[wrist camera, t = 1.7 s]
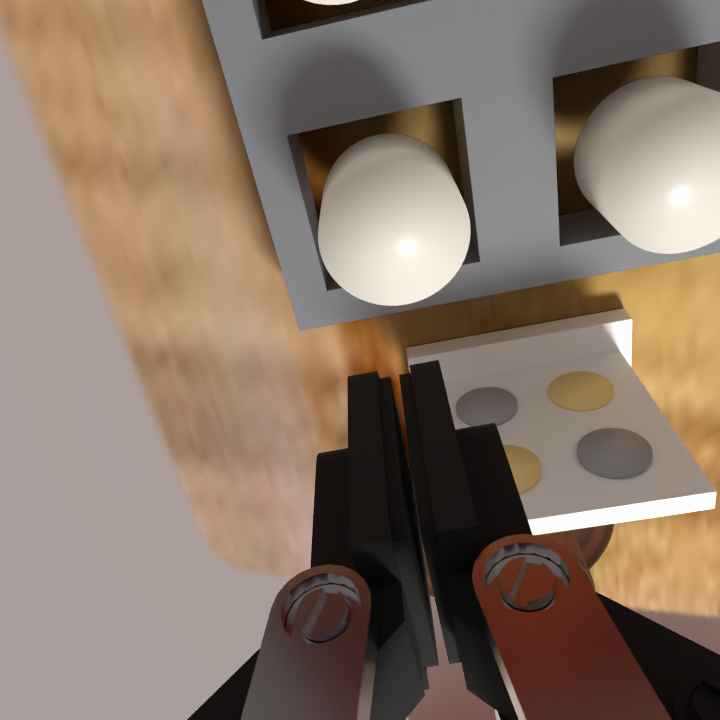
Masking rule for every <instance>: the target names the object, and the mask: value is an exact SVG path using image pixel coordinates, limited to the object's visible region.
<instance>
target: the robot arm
mask: <svg viewBox="0 0 720 720" xmlns="http://www.w3.org/2000/svg"><path fill="white" fill-rule="evenodd" d="M410 372H411V373H408V374H402V375H399V377H400V385H401V392H402V400H403V407H404V415H405V422H406V430H407V437H408V444H409V452H410V459H411V467H412V474H413V479H412V474H411V470H410V465H409V460H408V456H407V451H406V447H405V442H404V437H403V433H402V428H401V424H400V419H399V414H398V410H397V405H396V401H395V396H394V391H393V387H392V382H391V378H390V377H386V378H380V379H379V375H378V372H377V371H375V372H370V373H364V374H359V375H353V376H348V448H347V449H341V450H335V451H329V452H324V453H319V454H318V456H317V461H316V479H315V497H314V515H313V534H312V552H311V568H310V569H308V570H306V571H303V572H301V573H299V574H298V575H296V576H295V577H294V578H292V579H291V580H290V581H288V582H287V583H286V585H285V586H284V587H283V588H282V589H281V590H280V592H279V593H278V594H277V596H276V598H275V601H274V603H273V605H272V608H271V611H270V614H269V619H268V622H267V625H266V629H265V633H264V637H263V640H262V644H261V648H260V649H259V650H258V651H257V652H256V653H255V654H254V655H253V656H252V657H251V658H250V659H249V660H248V661H247V662H246V663H245V664H243V665H242V666H241V668H239V669H238V670H237V671H236V672H235V673H234V674H233V675H232V676H231V677H230V678H229V679H228V680H227V681H226V682H225V683H224V684H223V685H222V686H221V687H220V688H219V689H218V690H217V691H216V692H215V693H214V694H213V695H212V696H211V697H210V698H209V699H208V700H207V701H206V702H205V703H204V704H203V705H202V706H201V707H200V708H199V709H198V710H197V711H196V712H195V713H193V715H191V717H189V718H188V719H187V720H408V716H409V714H410V713H411V712H412V711H413V709H414V708H415V707H416V706H417V704H418V703H419V702H420V701H421V699H422V698H423V697H424V695H425V693H424V690H425V689H429V686H428V678H427V669H426V667H431V666H438V655H437V647H436V640H435V632H434V625H433V618H432V610H431V603H430V596H429V588H428V581H427V573H426V566H425V559H424V552H425V556H426V561H427V565H428V570H429V574H430V579H431V583H432V588H433V592H434V597H435V601H436V606H437V610H438V615H439V619H440V624H441V628H442V633H443V637H444V642H445V646H446V651H447V655H448V660H449V663H450V664H452V663H459V662H462V667H463V671H464V676H465V681H466V686H467V690H469V691H470V692H472V693H473V694H475V695H476V696H477V697H479V698H480V699H481V700H483V701H484V702H486V703H487V704H488V705H490V706H491V707H493V708H494V709H495V714H496V720H720V655H719V654H716V653H715V652H713V651H711V650H709V649H707V648H705V647H703V646H701V645H699V644H697V643H695V642H693V641H691V640H689V639H687V638H685V637H683V636H681V635H679V634H677V633H676V632H674V631H672V630H669V629H668V628H666V627H664V626H662V625H660V624H658V623H656V622H654V621H652V620H650V619H648V618H646V617H644V616H642V615H640V614H638V613H636V612H634V611H632V610H630V609H629V608H627V607H625V606H623V605H621V604H619V603H617V602H615V601H613V600H611V599H609V598H607V597H605V596H603V595H601V594H599V593H597V592H595V591H594V589H593V587H592V585H591V584H590V582H589V580H588V579H587V577H586V575H585V574H584V572H583V570H582V569H581V567H580V565H579V564H578V562H577V561H576V559H575V558H574V557H573V556H572V555H571V553H570V552H569V551H568V550H567V549H566V548H564V547H563V546H561V545H560V544H558V543H557V542H555V541H554V540H551V539H548V538H545V537H542V536H539V535H532V532H531V529H530V525H529V522H528V519H527V516H526V513H525V510H524V507H523V504H522V501H521V498H520V495H519V492H518V489H517V486H516V483H515V480H514V477H513V474H512V471H511V468H510V465H509V462H508V459H507V456H506V453H505V450H504V447H503V444H502V441H501V438H500V435H499V431H498V429H497V426H496V424H495V423H490V424H484V425H478V426H473V427H467V428H461V429H456V430H455V426H454V422H453V417H452V413H451V409H450V405H449V401H448V396H447V392H446V388H445V384H444V380H443V376H442V371H441V367H440V363H439V360H435V361H429V362H424V363H418V364H413V365H410ZM413 482H414V483H413ZM422 542H423V544H422ZM423 547H424V551H423Z"/></svg>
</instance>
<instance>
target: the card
mask: <svg viewBox="0 0 720 720" xmlns="http://www.w3.org/2000/svg"><path fill="white" fill-rule="evenodd" d="M406 353H407V360H408V365H409V370H410V365H413V364H418V363H424V362H429V361H435V360H439V363H440V367H441V371H442V376H443V380H444V384H445V388H446V392H447V396H448V401H449V405H450V409H451V413H452V417H453V422H454V426H455V430H456V429H461V428H467V427H473V426H478V425H484V424H490V423H495V424H496V426H497V429H498V431H499V435H500V438H501V441H502V444H503V447H504V450H505V453H506V456H507V459H508V462H509V465H510V468H511V471H512V474H513V477H514V480H515V483H516V486H517V489H518V492H519V495H520V498H521V501H522V504H523V507H524V510H525V513H526V516H527V519H528V522H529V525H530V529H531V532H532V535H540V534H547V533H553V532H560V531H567V530H574V529H580V528H587V527H594V526H601V525H607V524H614V523H621V522H627V521H634V520H641V519H648V518H654V517H661V516H668V515H675V514H681V513H688V512H695V511H702V510H708V509H714V508H715V500H716V490H715V489H714V487H713V486H712V484H711V483H710V481H709V480H708V478H707V477H706V475H705V474H704V473H703V471H702V470H701V468H700V467H699V465H698V464H697V462H696V461H695V459H694V458H693V457H692V455H691V454H690V452H689V451H688V449H687V448H686V446H685V445H684V443H683V442H682V441H681V439H680V438H679V436H678V435H677V433H676V432H675V430H674V429H673V427H672V426H671V425H670V423H669V422H668V420H667V419H666V417H665V416H664V414H663V413H662V411H661V410H660V408H659V407H658V406H657V404H656V403H655V401H654V400H653V398H652V397H651V395H650V394H649V392H648V391H647V390H646V388H645V387H644V385H643V384H642V382H641V381H640V379H639V378H638V376H637V375H636V374H635V372H634V371H633V369H632V368H631V354H632V318H631V317H630V315H629V314H628V313H627V311H626V310H625V309H624V308H623V309H618V310H612V311H606V312H601V313H595V314H590V315H584V316H579V317H573V318H568V319H562V320H557V321H551V322H546V323H540V324H535V325H529V326H524V327H518V328H512V329H507V330H501V331H496V332H490V333H485V334H479V335H474V336H468V337H463V338H457V339H452V340H446V341H441V342H435V343H430V344H424V345H418V346H413V347H407V348H406ZM410 373H411V372H410Z"/></svg>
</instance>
